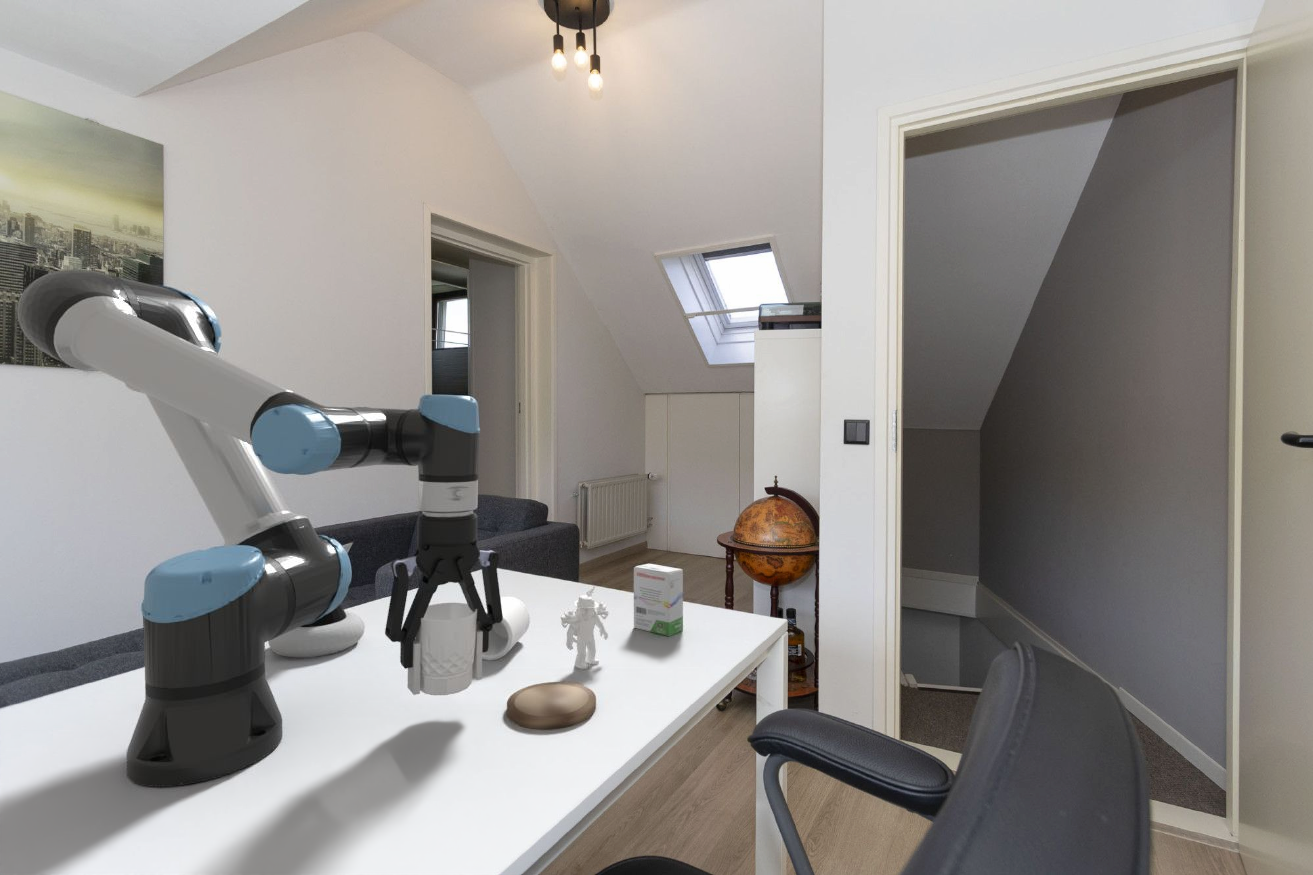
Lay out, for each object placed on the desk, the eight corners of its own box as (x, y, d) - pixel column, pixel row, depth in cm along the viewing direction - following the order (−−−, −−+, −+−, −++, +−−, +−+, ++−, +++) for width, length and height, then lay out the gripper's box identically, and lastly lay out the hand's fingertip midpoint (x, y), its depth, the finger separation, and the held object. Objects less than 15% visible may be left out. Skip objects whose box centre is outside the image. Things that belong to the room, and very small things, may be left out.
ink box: (684, 630, 122) (684, 567, 121) (668, 637, 118) (669, 572, 117) (648, 621, 127) (648, 561, 126) (632, 628, 123) (632, 566, 122)
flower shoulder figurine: (598, 653, 109) (598, 583, 109) (614, 659, 106) (614, 587, 106) (556, 668, 103) (556, 593, 102) (572, 675, 100) (572, 598, 100)
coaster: (531, 738, 80) (531, 728, 80) (492, 704, 90) (492, 695, 90) (612, 712, 87) (612, 703, 87) (568, 683, 97) (568, 674, 97)
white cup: (487, 685, 86) (488, 611, 86) (432, 703, 81) (433, 624, 80) (456, 668, 92) (457, 598, 91) (402, 684, 86) (403, 610, 86)
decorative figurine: (370, 629, 122) (369, 523, 121) (357, 657, 107) (355, 537, 107) (282, 636, 117) (280, 526, 117) (256, 666, 103) (254, 541, 103)
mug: (530, 641, 116) (530, 596, 115) (512, 661, 106) (512, 613, 105) (465, 638, 117) (465, 594, 117) (441, 658, 107) (441, 610, 107)
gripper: (373, 522, 76) (370, 713, 77) (531, 510, 88) (528, 675, 89) (358, 513, 82) (356, 691, 83) (508, 503, 94) (505, 658, 95)
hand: (445, 683), depth 86 cm, fingers closed on white cup, 7 cm apart
